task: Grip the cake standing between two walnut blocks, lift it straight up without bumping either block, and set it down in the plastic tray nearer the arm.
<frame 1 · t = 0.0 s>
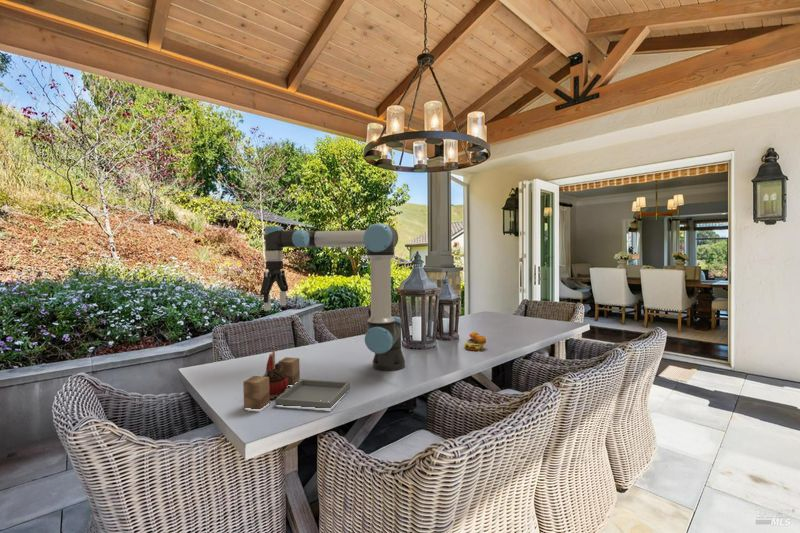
hand: (275, 307, 172), 28 cm above the table, fingers open, 13 cm apart
cake: (274, 395, 142), on the table
right walnut block: (289, 384, 153), on the table
tray: (314, 398, 139), on the table
left walnut block: (257, 407, 131), on the table
cheeseburger: (475, 349, 205), on the table
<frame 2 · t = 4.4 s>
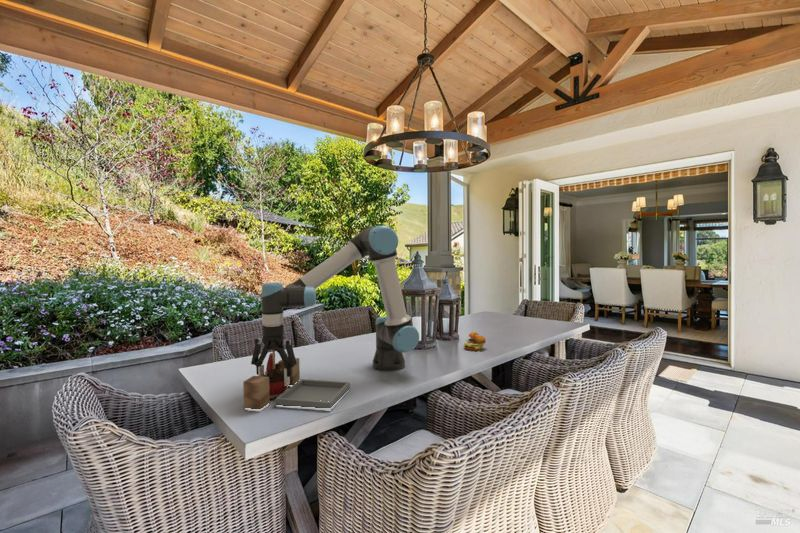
hand: (274, 384, 142), 4 cm above the table, fingers closed on cake, 10 cm apart
cake: (274, 395, 142), on the table, touching gripper
everything else where it was.
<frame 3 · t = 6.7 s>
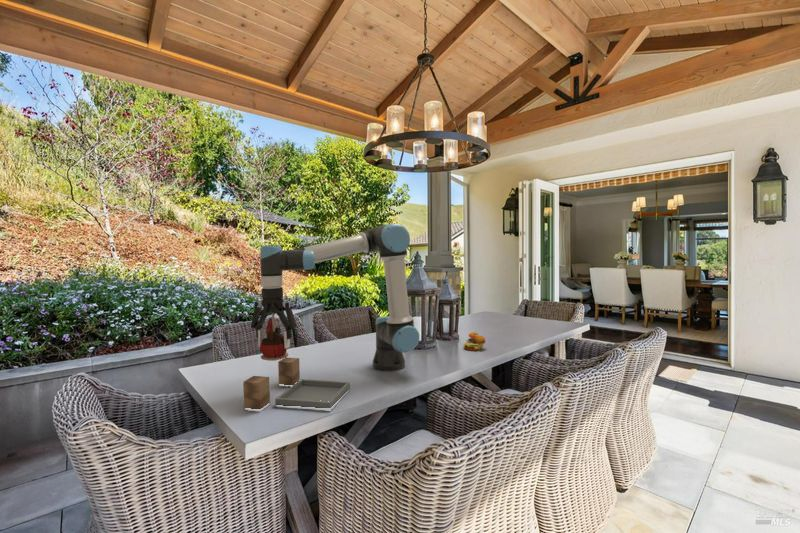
hand: (274, 347, 141), 18 cm above the table, fingers closed on cake, 10 cm apart
cake: (274, 359, 142), point 14 cm above the table, touching gripper
everything else where it was.
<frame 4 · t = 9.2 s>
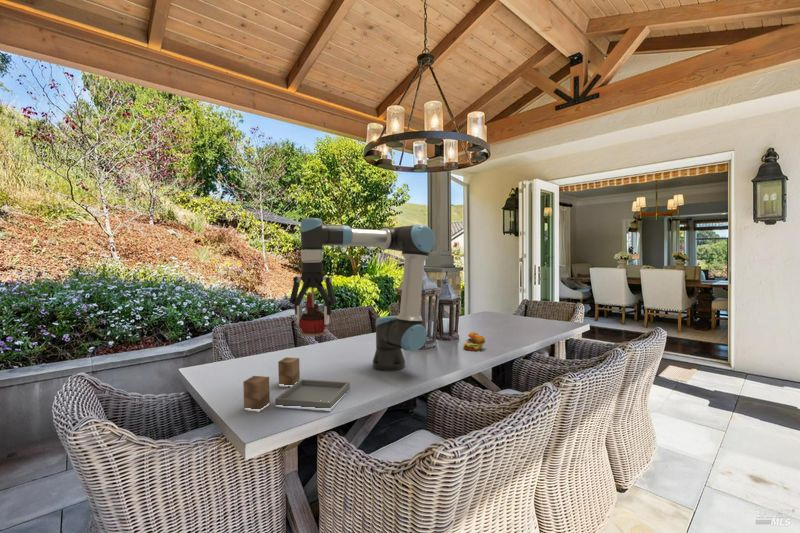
hand: (313, 323, 138), 27 cm above the table, fingers closed on cake, 10 cm apart
cake: (313, 335, 138), point 23 cm above the table, touching gripper
everything else where it was.
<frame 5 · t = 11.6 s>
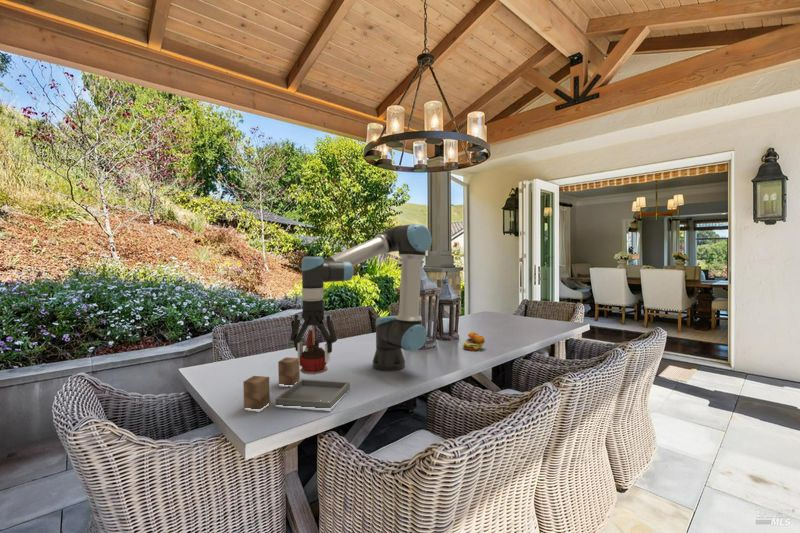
hand: (313, 360, 138), 14 cm above the table, fingers closed on cake, 10 cm apart
cake: (314, 372, 138), point 9 cm above the table, touching gripper
everything else where it was.
when the fingers open (6 cm above the table, at t = 13.7 s): cake stays where it is, resting on tray.
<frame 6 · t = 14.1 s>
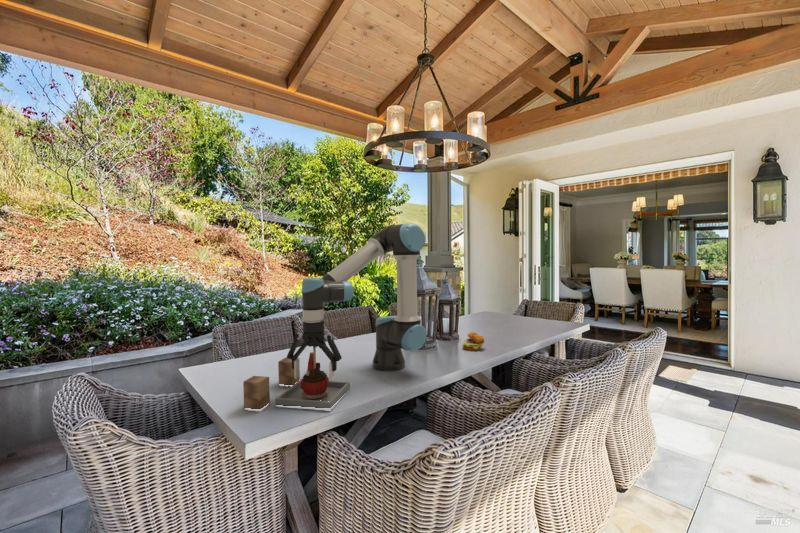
hand: (314, 378, 139), 7 cm above the table, fingers open, 13 cm apart
cake: (315, 395, 139), point 1 cm above the table, touching tray
everything else where it was.
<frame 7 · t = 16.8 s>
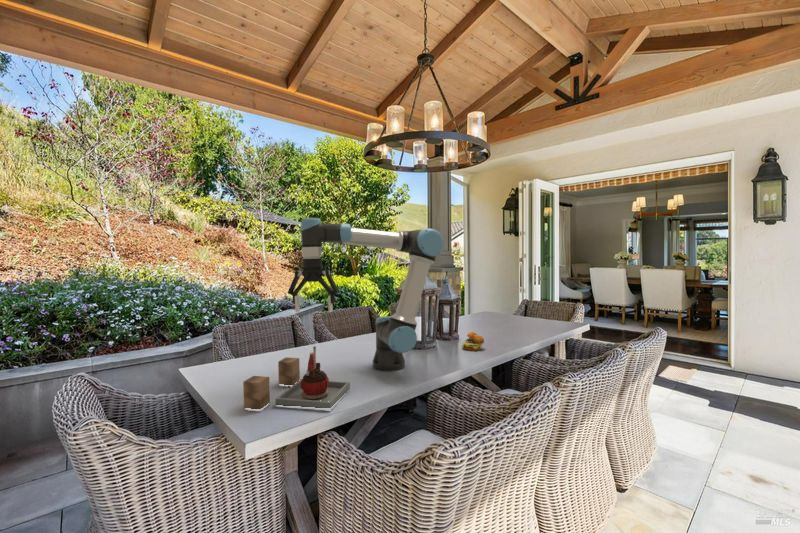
hand: (314, 311, 150), 30 cm above the table, fingers open, 13 cm apart
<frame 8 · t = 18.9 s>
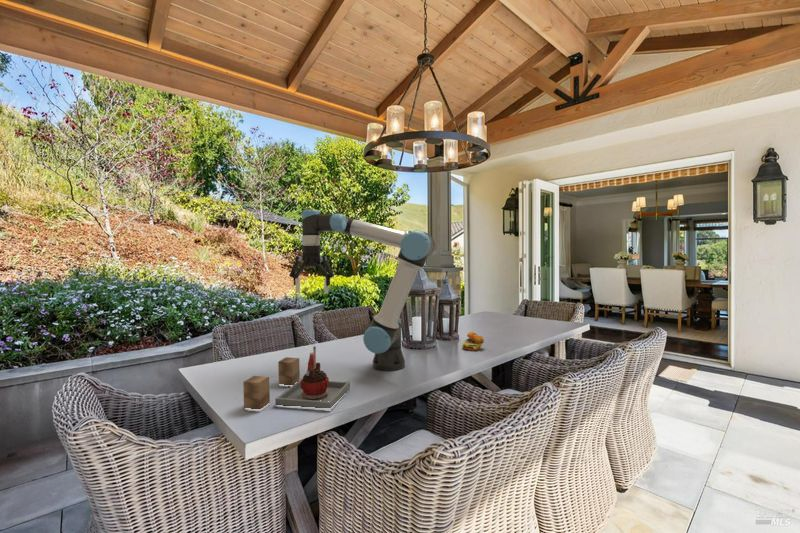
hand: (312, 293, 169), 35 cm above the table, fingers open, 13 cm apart
at the end: cake inside the target area on the tray (0.2 cm from its centre), point 0.8 cm above the tray's base; right walnut block moved 0.1 cm from its start; left walnut block moved 0.1 cm from its start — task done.
